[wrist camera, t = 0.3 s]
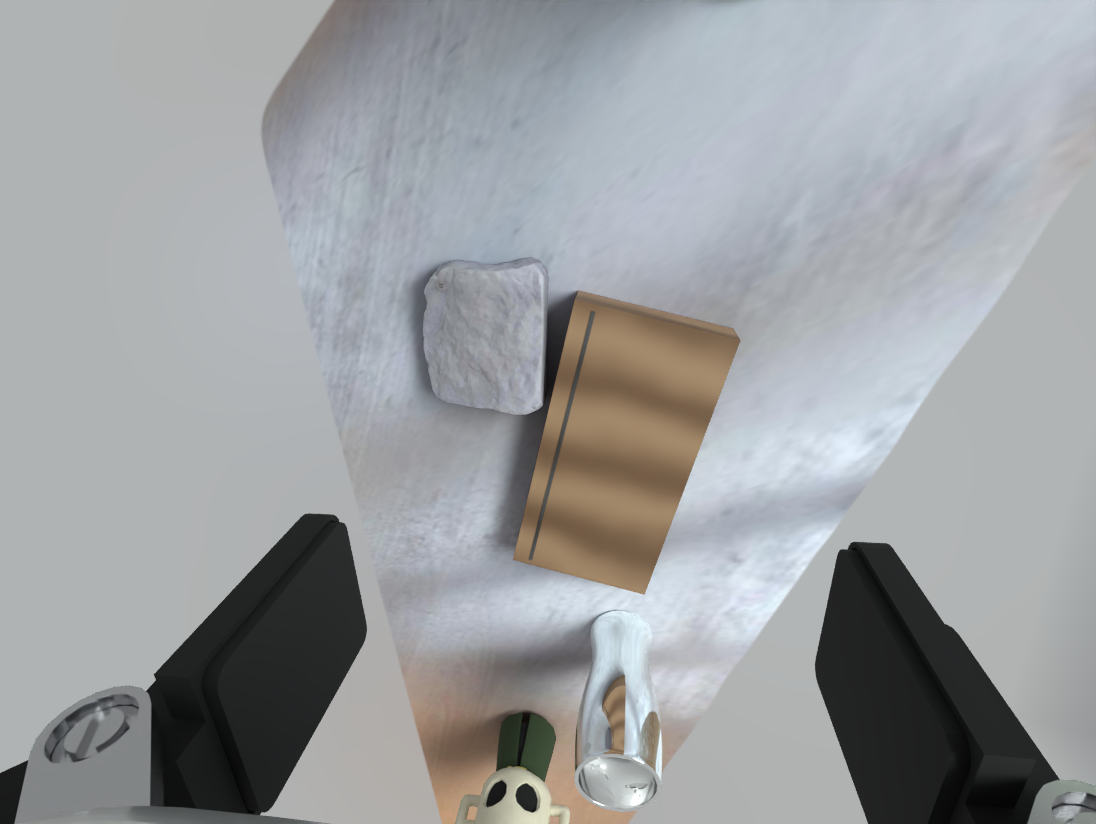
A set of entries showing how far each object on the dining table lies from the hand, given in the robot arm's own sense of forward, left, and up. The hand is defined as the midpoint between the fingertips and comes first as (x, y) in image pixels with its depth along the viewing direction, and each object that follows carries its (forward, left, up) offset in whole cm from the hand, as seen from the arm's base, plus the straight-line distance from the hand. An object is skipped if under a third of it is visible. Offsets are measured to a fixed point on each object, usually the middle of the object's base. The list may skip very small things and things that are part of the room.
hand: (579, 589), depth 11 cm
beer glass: (+34, +9, -35) cm, 50 cm away
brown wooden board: (+14, +3, -35) cm, 37 cm away
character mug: (+51, +3, -35) cm, 62 cm away
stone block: (+7, -9, -35) cm, 37 cm away
